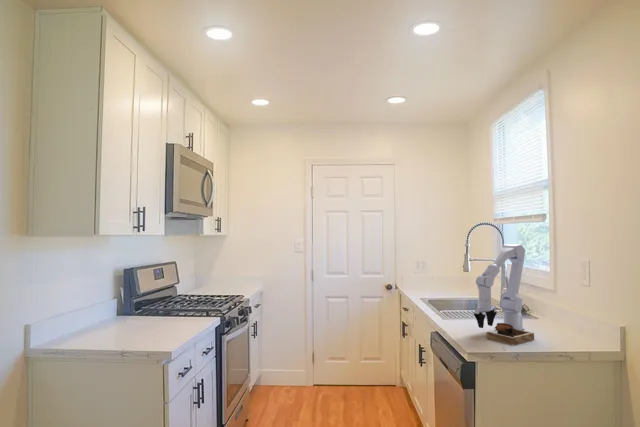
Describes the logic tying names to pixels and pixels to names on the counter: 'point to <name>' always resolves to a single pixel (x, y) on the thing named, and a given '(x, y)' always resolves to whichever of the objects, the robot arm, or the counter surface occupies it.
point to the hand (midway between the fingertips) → (485, 326)
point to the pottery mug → (505, 329)
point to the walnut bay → (518, 338)
